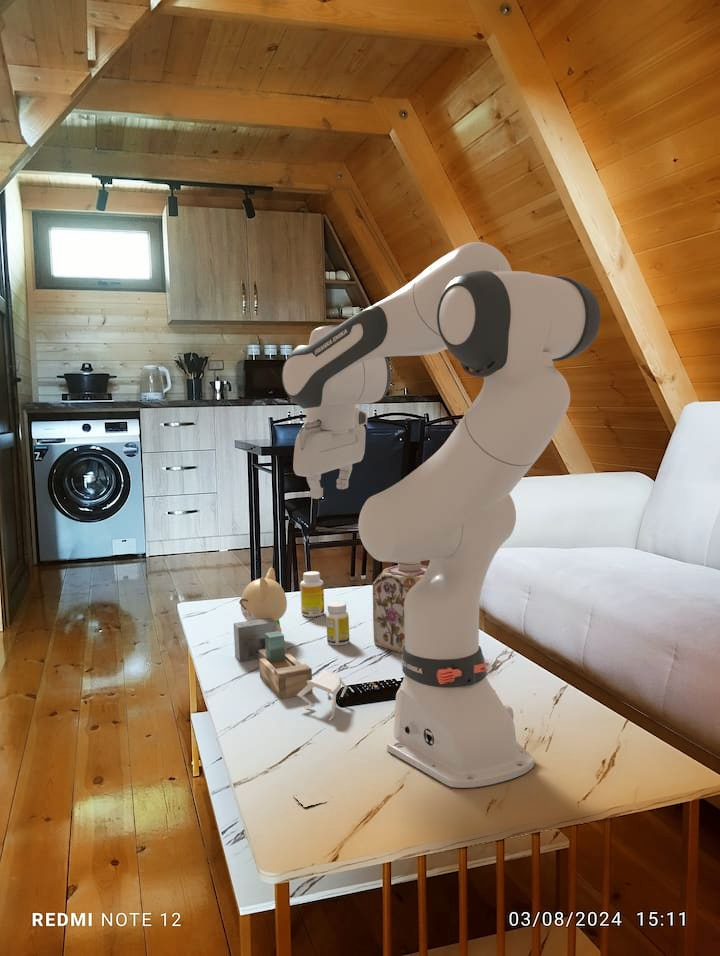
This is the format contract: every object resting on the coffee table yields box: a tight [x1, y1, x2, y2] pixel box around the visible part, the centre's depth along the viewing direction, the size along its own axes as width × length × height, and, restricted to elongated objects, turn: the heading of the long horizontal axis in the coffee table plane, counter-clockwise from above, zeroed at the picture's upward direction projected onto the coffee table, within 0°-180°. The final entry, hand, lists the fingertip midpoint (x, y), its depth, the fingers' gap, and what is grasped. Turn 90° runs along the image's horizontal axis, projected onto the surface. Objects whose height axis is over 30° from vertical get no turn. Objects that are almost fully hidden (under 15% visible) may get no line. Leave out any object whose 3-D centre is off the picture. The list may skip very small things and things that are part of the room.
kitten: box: [239, 567, 288, 633], centre depth 169 cm, size 15×10×15 cm
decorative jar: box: [372, 561, 428, 654], centre depth 162 cm, size 12×12×18 cm
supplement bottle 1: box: [299, 570, 325, 618], centre depth 188 cm, size 6×6×10 cm
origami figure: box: [296, 669, 348, 721], centre depth 130 cm, size 12×8×5 cm
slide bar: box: [258, 631, 293, 669], centre depth 145 cm, size 16×3×7 cm, turn 24°
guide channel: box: [258, 653, 313, 700], centre depth 142 cm, size 12×6×4 cm, turn 24°
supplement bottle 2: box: [325, 601, 350, 646], centre depth 166 cm, size 5×5×8 cm
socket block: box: [233, 618, 277, 662], centre depth 159 cm, size 4×8×7 cm, turn 114°
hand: (329, 493), depth 142 cm, fingers open, 8 cm apart
